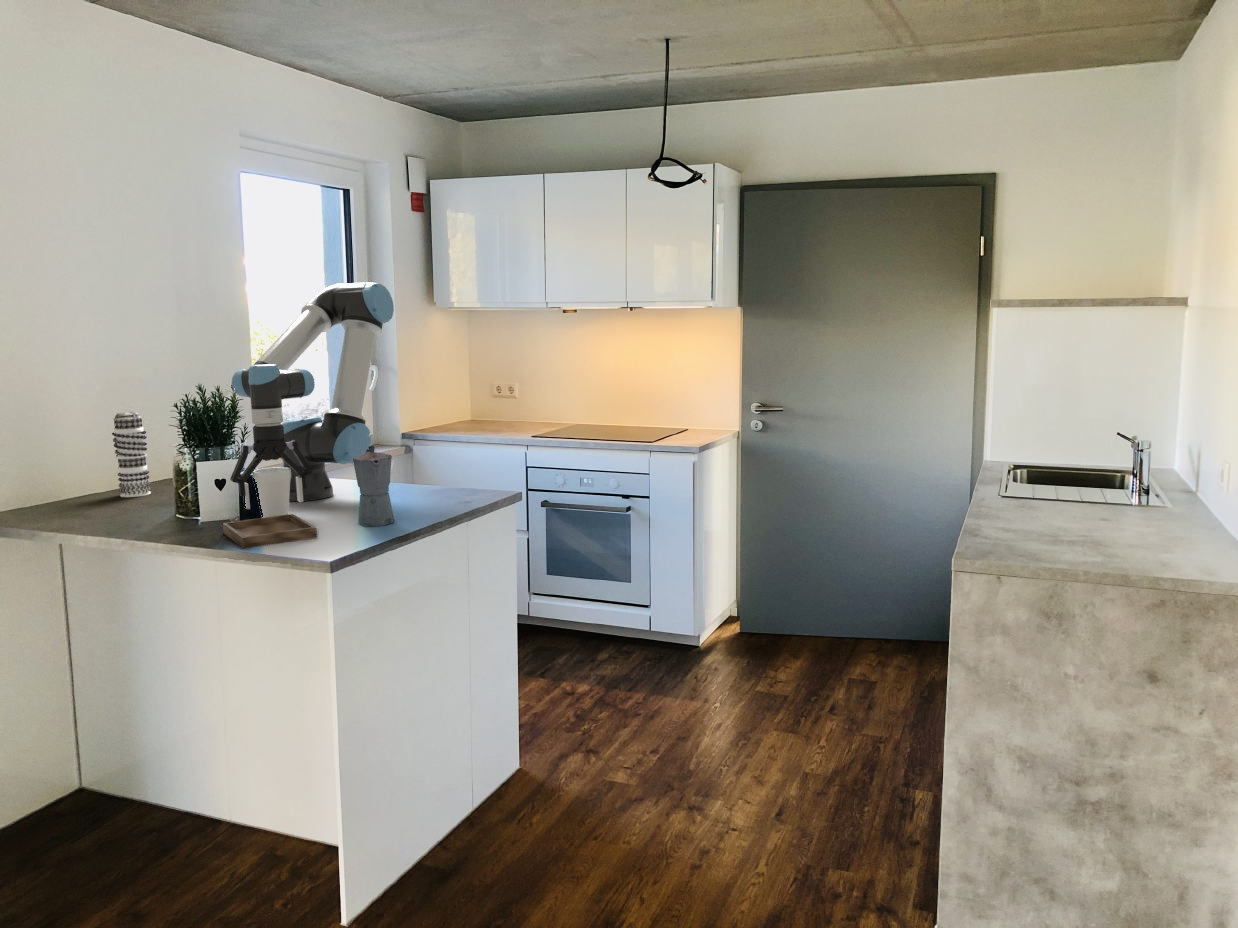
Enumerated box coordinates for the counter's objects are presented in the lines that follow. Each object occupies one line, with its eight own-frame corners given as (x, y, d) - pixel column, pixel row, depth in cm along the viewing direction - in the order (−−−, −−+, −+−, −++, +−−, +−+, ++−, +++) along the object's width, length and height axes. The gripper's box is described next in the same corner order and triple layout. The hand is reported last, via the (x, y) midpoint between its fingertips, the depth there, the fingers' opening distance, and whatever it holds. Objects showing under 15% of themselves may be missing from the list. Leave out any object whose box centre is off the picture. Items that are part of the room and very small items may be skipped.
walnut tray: (293, 523, 246) (292, 513, 245) (317, 537, 229) (316, 527, 229) (223, 533, 236) (222, 523, 236) (243, 548, 220) (242, 537, 219)
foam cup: (281, 523, 246) (277, 473, 244) (249, 522, 248) (245, 472, 246) (300, 515, 255) (297, 467, 253) (269, 514, 257) (265, 466, 255)
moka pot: (363, 530, 236) (358, 450, 232) (349, 519, 249) (344, 443, 246) (401, 526, 240) (397, 447, 237) (386, 515, 253) (381, 440, 250)
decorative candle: (148, 496, 288) (140, 413, 284) (114, 498, 286) (106, 415, 282) (155, 491, 297) (147, 410, 293) (123, 492, 295) (114, 412, 291)
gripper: (220, 429, 238) (227, 513, 241) (320, 421, 252) (326, 500, 255) (213, 427, 244) (220, 508, 247) (311, 419, 258) (317, 496, 261)
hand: (274, 504), depth 251 cm, fingers open, 13 cm apart
